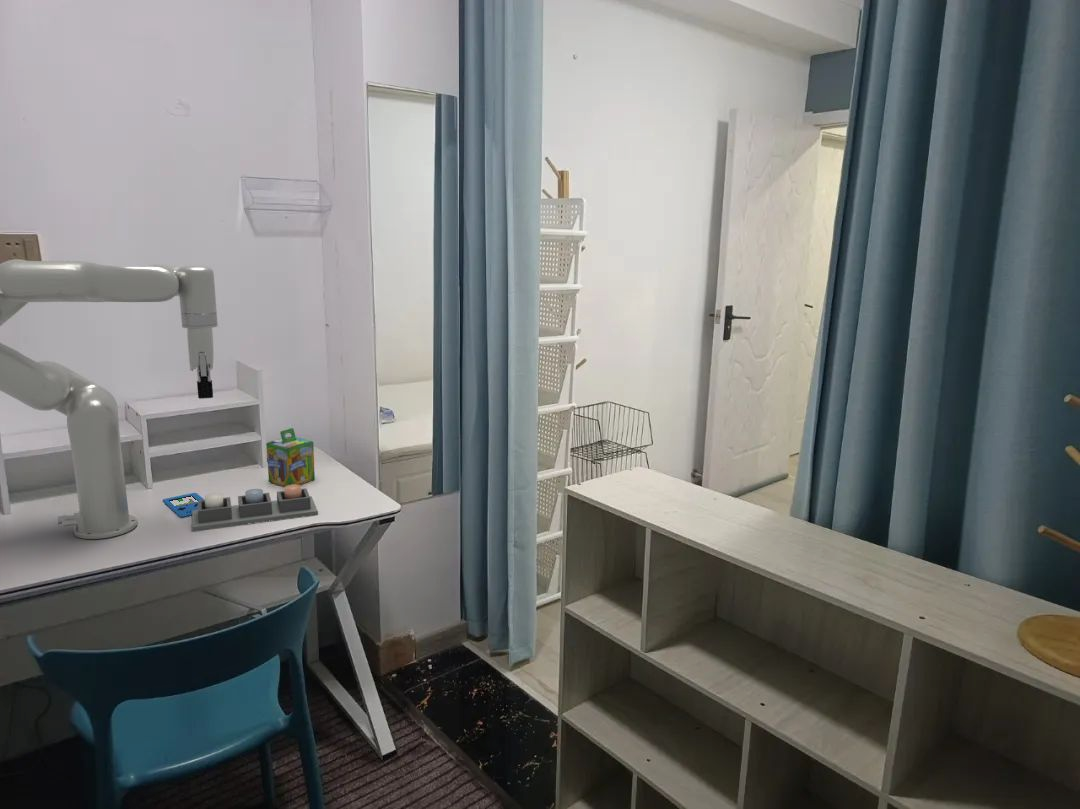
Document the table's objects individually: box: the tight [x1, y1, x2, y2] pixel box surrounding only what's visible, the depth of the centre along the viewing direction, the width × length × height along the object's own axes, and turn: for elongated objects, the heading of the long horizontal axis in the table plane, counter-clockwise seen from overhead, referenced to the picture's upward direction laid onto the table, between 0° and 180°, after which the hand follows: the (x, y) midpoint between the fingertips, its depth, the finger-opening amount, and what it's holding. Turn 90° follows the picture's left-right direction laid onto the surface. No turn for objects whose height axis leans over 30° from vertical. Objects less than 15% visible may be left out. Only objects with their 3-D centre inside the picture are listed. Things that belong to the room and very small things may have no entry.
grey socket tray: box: [191, 487, 319, 532], centre depth 176 cm, size 28×11×4 cm, turn 115°
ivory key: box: [204, 492, 224, 509], centre depth 172 cm, size 4×4×3 cm
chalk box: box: [265, 427, 316, 487], centre depth 199 cm, size 9×9×15 cm
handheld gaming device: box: [162, 492, 205, 519], centre depth 181 cm, size 8×1×15 cm
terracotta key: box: [283, 484, 302, 500], centre depth 180 cm, size 4×4×3 cm
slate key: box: [244, 488, 264, 504], centre depth 176 cm, size 4×4×3 cm
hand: (205, 397), depth 171 cm, fingers closed
